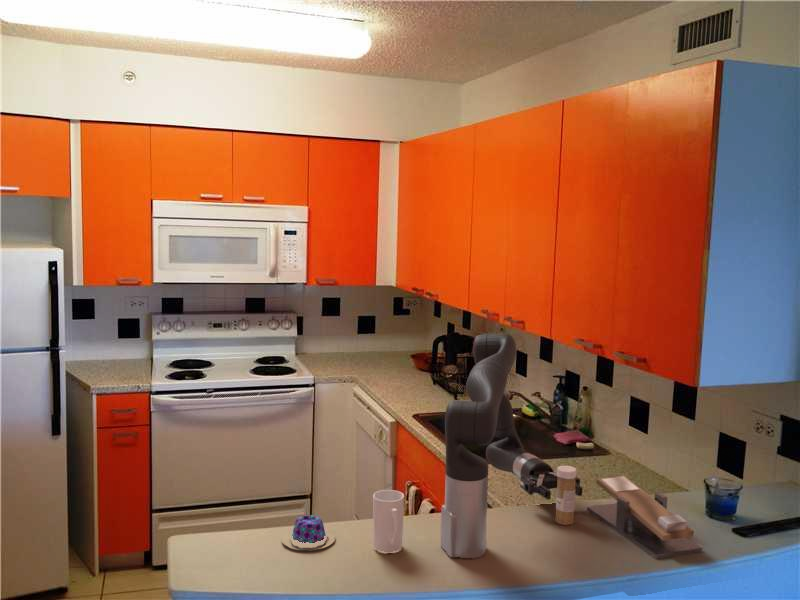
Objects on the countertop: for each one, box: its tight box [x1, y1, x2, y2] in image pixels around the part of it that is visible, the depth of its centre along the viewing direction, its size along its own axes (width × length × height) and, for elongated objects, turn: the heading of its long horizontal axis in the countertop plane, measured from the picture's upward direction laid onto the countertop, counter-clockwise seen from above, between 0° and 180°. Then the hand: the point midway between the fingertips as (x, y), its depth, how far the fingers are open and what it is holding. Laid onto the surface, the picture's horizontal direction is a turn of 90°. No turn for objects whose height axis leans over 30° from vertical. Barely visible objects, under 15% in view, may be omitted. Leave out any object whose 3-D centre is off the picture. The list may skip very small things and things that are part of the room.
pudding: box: [292, 514, 326, 543], centre depth 161 cm, size 12×12×5 cm
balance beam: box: [596, 475, 695, 540], centre depth 169 cm, size 8×26×3 cm, turn 18°
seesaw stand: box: [586, 492, 703, 560], centre depth 169 cm, size 12×27×8 cm, turn 18°
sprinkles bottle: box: [554, 465, 578, 526], centre depth 173 cm, size 5×5×14 cm
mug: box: [372, 489, 405, 552], centre depth 156 cm, size 10×7×12 cm, turn 16°
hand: (565, 493), depth 173 cm, fingers open, 8 cm apart
